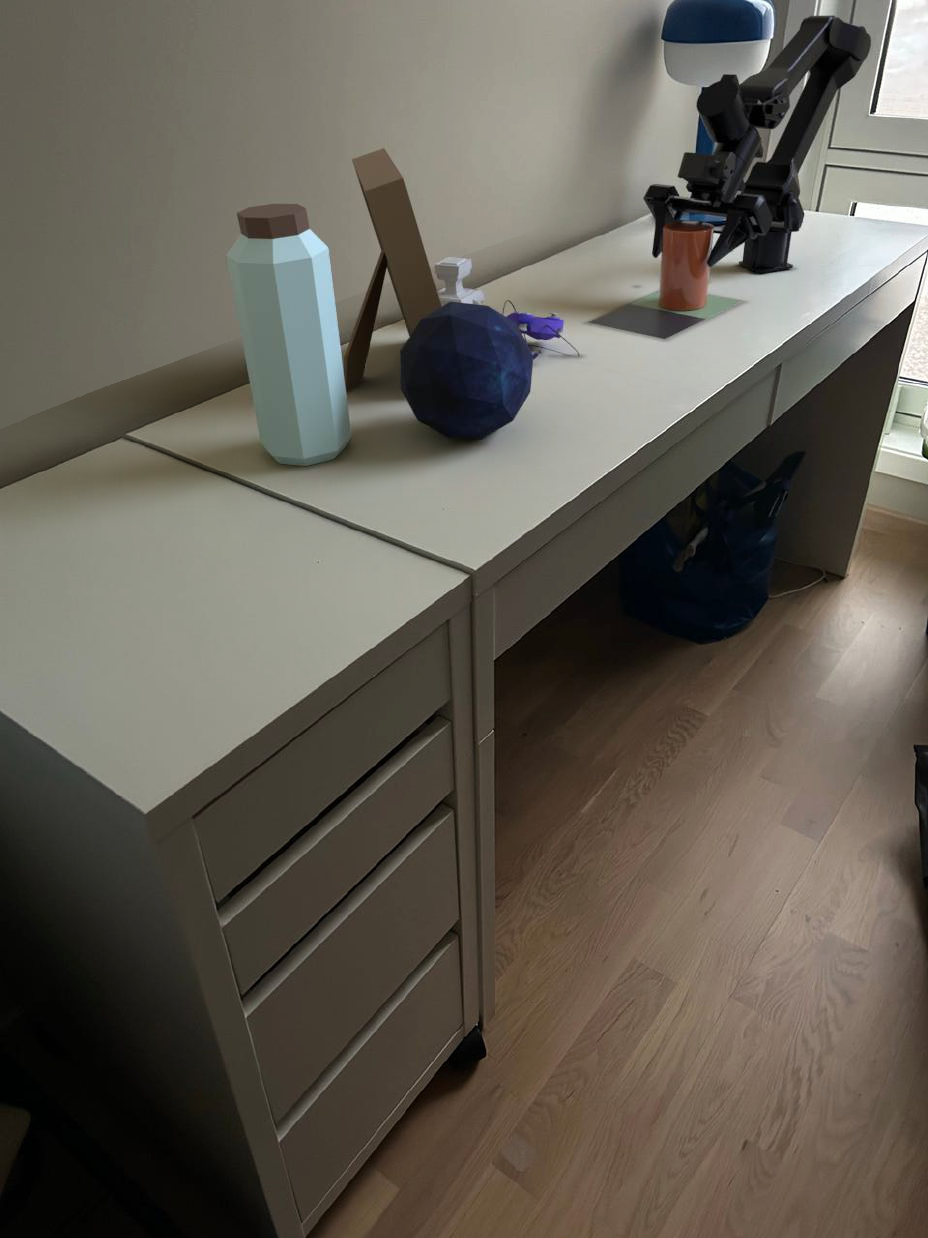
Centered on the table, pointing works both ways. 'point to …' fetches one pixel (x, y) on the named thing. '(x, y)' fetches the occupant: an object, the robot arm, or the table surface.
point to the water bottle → (290, 334)
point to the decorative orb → (465, 370)
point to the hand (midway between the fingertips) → (680, 260)
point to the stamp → (456, 282)
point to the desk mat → (661, 316)
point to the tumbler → (685, 265)
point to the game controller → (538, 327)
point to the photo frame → (389, 258)
